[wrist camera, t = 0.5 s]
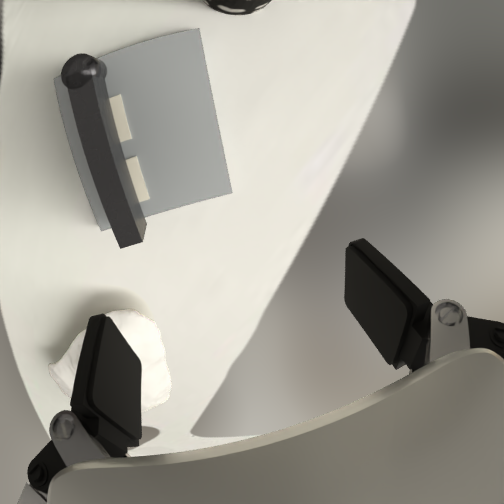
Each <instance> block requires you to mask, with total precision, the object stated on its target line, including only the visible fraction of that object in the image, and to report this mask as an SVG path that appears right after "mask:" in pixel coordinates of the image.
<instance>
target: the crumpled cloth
mask: <svg viewBox="0 0 504 504" xmlns="http://www.w3.org/2000/svg"><path fill="white" fill-rule="evenodd" d="M105 315H106V316H109V317H110V318H111V319H112V320H113V322H114V323H115V325H116V326H117V328H118V329H119V331H120V332H121V334H122V335H123V337H124V338H125V339H126V341H127V342H128V344H129V345H130V346H131V348H132V349H133V351H134V352H135V353H136V355H137V356H138V357H139V359H140V361H141V364H142V378H141V413H143V412H145V411H147V410H149V409H151V408H153V407H156V406H159V405H161V404H163V403H164V402H166V401H167V400H168V399H169V395H170V390H171V387H172V385H171V383H172V381H171V378H170V373H169V369H168V367H167V363H166V361H165V348H164V345H163V343H162V341H161V334H160V331H159V329H158V327H157V325H156V323H155V322H154V321H153V320H151V319H149V318H147V317H145V316H143V315H142V314H140V313H139V312H137V311H136V310H133V309H126V310H117V311H111V312H109V313H107V314H105ZM86 329H87V328H86ZM86 329H85V330H83V331H82V332H80V333H79V334H78V335H77V337H76V338H75V339H74V341H73V342H72V343H71V345H70V347H69V349H68V350H67V351H66V353H65V354H64V355H63V357H62V358H61V359H60V360H59V361H58V362H56V363H50V364H49V365H48V369H49V373H50V375H51V377H52V378H53V379H54V380H55V381H56V382H57V384H58V385H59V387H60V389H61V391H62V392H63V393H64V394H65V395H67V396H68V397H70V398H71V396H72V391H73V385H74V380H75V375H76V370H77V366H78V361H79V357H80V352H81V348H82V344H83V340H84V337H85V333H86Z"/></svg>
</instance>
